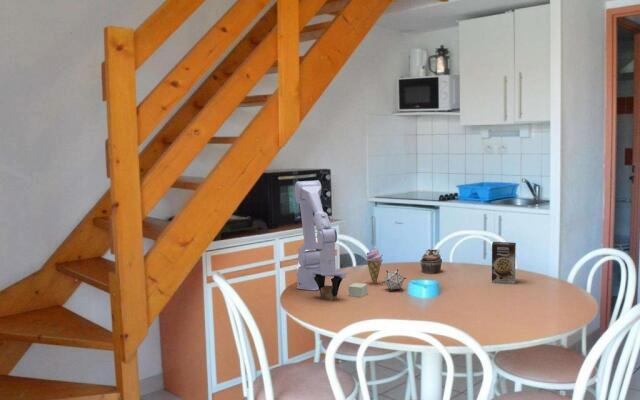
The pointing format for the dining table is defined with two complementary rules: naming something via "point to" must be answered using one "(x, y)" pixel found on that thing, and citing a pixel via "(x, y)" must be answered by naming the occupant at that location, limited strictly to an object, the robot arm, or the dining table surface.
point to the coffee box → (503, 262)
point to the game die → (394, 280)
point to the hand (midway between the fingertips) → (328, 294)
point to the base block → (358, 290)
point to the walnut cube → (327, 293)
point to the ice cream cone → (374, 264)
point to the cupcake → (431, 262)
